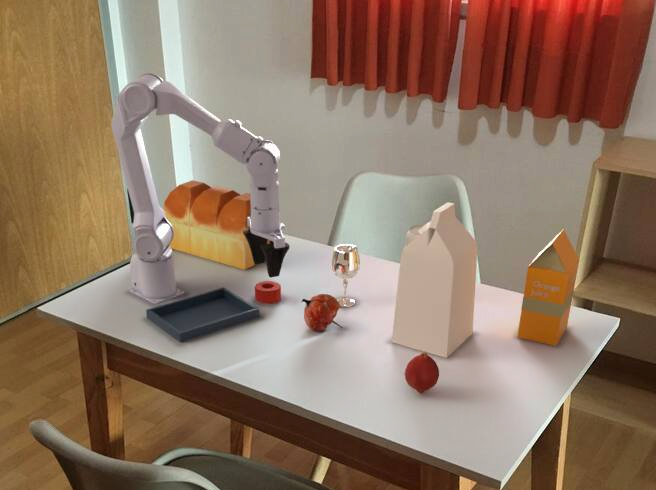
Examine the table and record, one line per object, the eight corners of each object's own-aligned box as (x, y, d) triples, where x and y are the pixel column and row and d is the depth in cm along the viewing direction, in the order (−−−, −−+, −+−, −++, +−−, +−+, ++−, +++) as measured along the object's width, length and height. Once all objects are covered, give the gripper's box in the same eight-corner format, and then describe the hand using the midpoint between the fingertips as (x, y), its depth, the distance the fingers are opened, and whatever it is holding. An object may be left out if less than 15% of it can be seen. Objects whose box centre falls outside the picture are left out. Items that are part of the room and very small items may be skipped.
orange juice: (567, 327, 164) (585, 231, 153) (556, 346, 157) (574, 246, 146) (528, 319, 167) (543, 224, 156) (516, 337, 160) (530, 239, 150)
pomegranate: (335, 329, 168) (296, 300, 165) (357, 306, 163) (317, 276, 161) (328, 349, 162) (288, 319, 159) (351, 326, 157) (310, 295, 155)
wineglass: (327, 305, 172) (327, 251, 166) (336, 295, 176) (337, 241, 170) (353, 310, 170) (354, 255, 164) (362, 299, 175) (364, 245, 168)
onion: (400, 384, 144) (403, 343, 140) (433, 383, 145) (437, 342, 141) (406, 401, 139) (410, 360, 135) (440, 400, 140) (444, 359, 136)
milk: (446, 357, 153) (460, 222, 139) (391, 342, 158) (399, 210, 144) (472, 333, 161) (487, 203, 148) (419, 319, 167) (429, 193, 153)
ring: (250, 300, 174) (249, 287, 172) (266, 292, 177) (265, 278, 176) (270, 307, 171) (269, 293, 169) (285, 298, 175) (285, 284, 173)
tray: (146, 319, 166) (145, 309, 165) (224, 296, 176) (223, 287, 174) (180, 344, 157) (179, 333, 156) (259, 318, 167) (259, 308, 165)
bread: (278, 254, 196) (277, 193, 189) (245, 270, 188) (243, 207, 180) (200, 232, 209) (196, 174, 201) (165, 247, 200) (160, 187, 192)
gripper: (298, 213, 160) (298, 278, 167) (268, 192, 171) (270, 254, 178) (265, 219, 157) (267, 284, 164) (237, 197, 168) (239, 260, 175)
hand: (266, 269), depth 171 cm, fingers open, 7 cm apart
